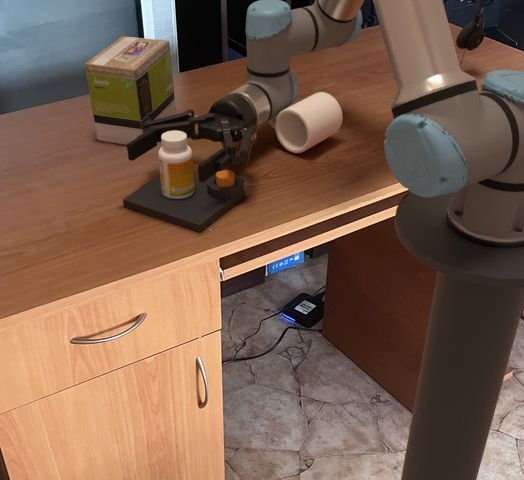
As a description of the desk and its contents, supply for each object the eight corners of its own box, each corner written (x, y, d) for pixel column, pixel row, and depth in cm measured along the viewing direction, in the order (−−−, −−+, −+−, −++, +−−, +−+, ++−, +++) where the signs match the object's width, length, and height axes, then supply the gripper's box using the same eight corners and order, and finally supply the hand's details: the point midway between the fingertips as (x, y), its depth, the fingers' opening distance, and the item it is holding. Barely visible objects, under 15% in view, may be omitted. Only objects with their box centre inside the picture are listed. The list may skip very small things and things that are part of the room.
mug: (344, 137, 144) (341, 93, 140) (312, 156, 138) (308, 111, 134) (292, 129, 151) (288, 88, 147) (260, 147, 145) (254, 104, 141)
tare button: (238, 182, 128) (238, 172, 126) (228, 190, 126) (227, 180, 124) (222, 177, 129) (222, 168, 128) (212, 185, 127) (212, 175, 126)
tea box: (131, 109, 156) (122, 33, 146) (177, 116, 153) (172, 39, 144) (95, 141, 145) (83, 61, 135) (144, 149, 143) (136, 68, 133)
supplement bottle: (201, 189, 128) (198, 133, 122) (180, 203, 125) (176, 146, 119) (175, 180, 130) (171, 125, 124) (154, 193, 127) (149, 137, 121)
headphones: (394, 68, 173) (405, -29, 160) (428, 57, 179) (441, -39, 166) (448, 89, 164) (464, -13, 151) (482, 76, 170) (500, -23, 157)
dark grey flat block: (250, 195, 130) (250, 179, 128) (202, 233, 120) (201, 216, 119) (174, 172, 136) (173, 156, 134) (123, 207, 127) (121, 190, 125)
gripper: (301, 151, 132) (232, 205, 118) (181, 119, 142) (104, 165, 128) (302, 108, 128) (231, 159, 114) (178, 78, 137) (98, 121, 124)
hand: (164, 163), depth 121 cm, fingers open, 13 cm apart
